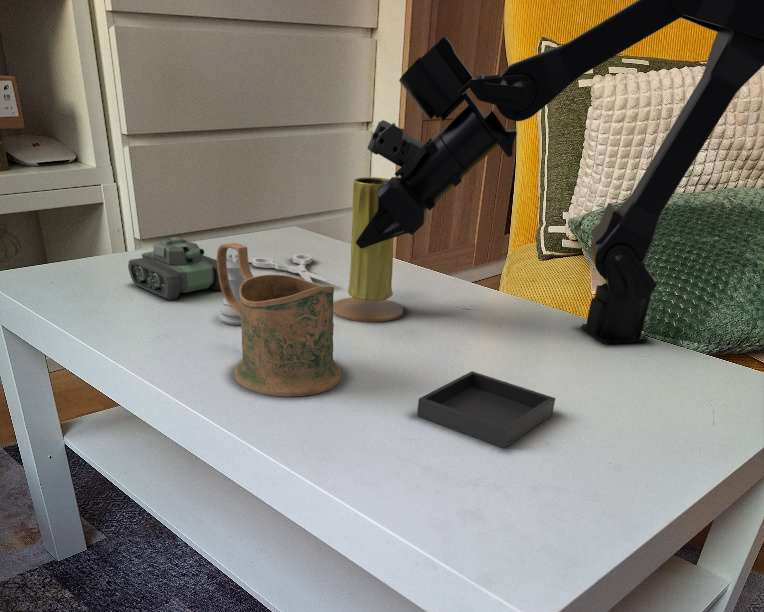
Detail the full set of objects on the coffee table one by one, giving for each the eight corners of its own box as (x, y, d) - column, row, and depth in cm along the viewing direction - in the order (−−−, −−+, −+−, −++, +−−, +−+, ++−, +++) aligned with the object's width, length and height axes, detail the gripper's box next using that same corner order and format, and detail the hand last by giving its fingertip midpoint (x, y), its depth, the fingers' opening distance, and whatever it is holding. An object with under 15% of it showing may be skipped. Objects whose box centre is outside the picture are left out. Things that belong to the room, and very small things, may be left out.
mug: (265, 333, 91) (262, 232, 84) (362, 378, 81) (367, 267, 74) (183, 354, 84) (172, 245, 77) (279, 406, 74) (276, 285, 67)
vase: (345, 299, 97) (347, 183, 89) (349, 286, 102) (352, 175, 95) (391, 302, 97) (397, 185, 89) (393, 289, 102) (399, 178, 94)
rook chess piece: (212, 322, 93) (207, 257, 89) (231, 312, 97) (227, 250, 93) (243, 328, 92) (239, 263, 88) (261, 318, 96) (259, 255, 91)
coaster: (391, 298, 106) (391, 296, 106) (412, 320, 98) (412, 317, 98) (325, 301, 103) (326, 298, 103) (342, 323, 96) (342, 320, 95)
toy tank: (188, 272, 111) (184, 224, 108) (236, 291, 105) (233, 241, 101) (126, 283, 105) (120, 233, 101) (173, 305, 98) (168, 251, 94)
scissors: (302, 251, 123) (361, 282, 108) (302, 256, 123) (361, 287, 109) (242, 256, 118) (296, 289, 104) (242, 261, 118) (296, 295, 104)
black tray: (469, 387, 80) (471, 370, 79) (552, 415, 75) (555, 398, 74) (416, 415, 74) (418, 398, 72) (504, 448, 69) (507, 430, 68)
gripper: (419, 91, 94) (334, 179, 101) (400, 101, 79) (301, 203, 86) (474, 163, 98) (388, 243, 105) (466, 185, 82) (365, 277, 89)
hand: (362, 240), depth 96 cm, fingers closed on vase, 5 cm apart
